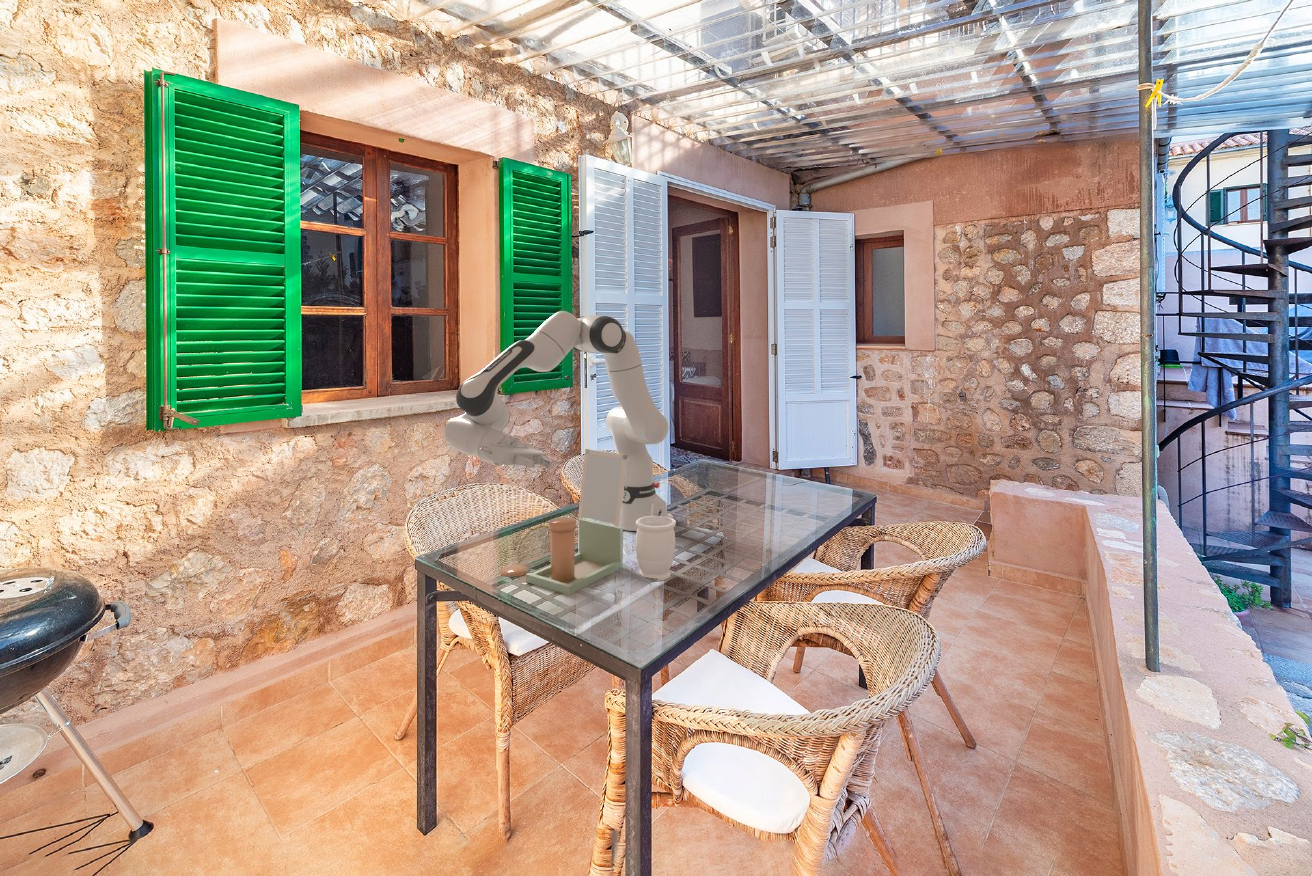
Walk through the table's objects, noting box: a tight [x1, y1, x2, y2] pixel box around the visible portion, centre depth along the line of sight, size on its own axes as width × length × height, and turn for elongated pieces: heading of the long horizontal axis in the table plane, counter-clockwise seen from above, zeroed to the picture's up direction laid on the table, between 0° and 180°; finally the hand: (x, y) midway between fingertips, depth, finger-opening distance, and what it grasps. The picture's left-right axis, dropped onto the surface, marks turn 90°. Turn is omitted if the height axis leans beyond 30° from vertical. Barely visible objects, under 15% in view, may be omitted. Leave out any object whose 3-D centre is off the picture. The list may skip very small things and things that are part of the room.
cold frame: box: [525, 518, 624, 596], centre depth 165 cm, size 22×14×12 cm, turn 147°
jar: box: [635, 516, 677, 582], centre depth 167 cm, size 11×10×15 cm
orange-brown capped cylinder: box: [548, 517, 577, 583], centre depth 162 cm, size 7×7×15 cm
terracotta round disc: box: [499, 564, 530, 578], centre depth 167 cm, size 8×8×1 cm
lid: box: [577, 448, 628, 527], centre depth 171 cm, size 19×14×1 cm
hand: (542, 464), depth 165 cm, fingers open, 8 cm apart
